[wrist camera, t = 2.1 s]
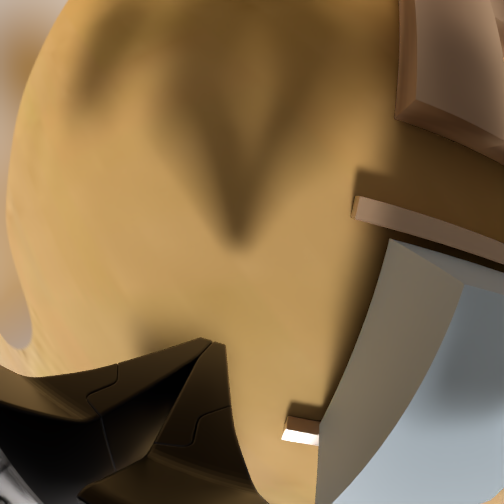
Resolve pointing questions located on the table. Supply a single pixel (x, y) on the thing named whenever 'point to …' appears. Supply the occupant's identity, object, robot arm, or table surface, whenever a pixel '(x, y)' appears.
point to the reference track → (415, 226)
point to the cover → (420, 389)
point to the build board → (453, 71)
